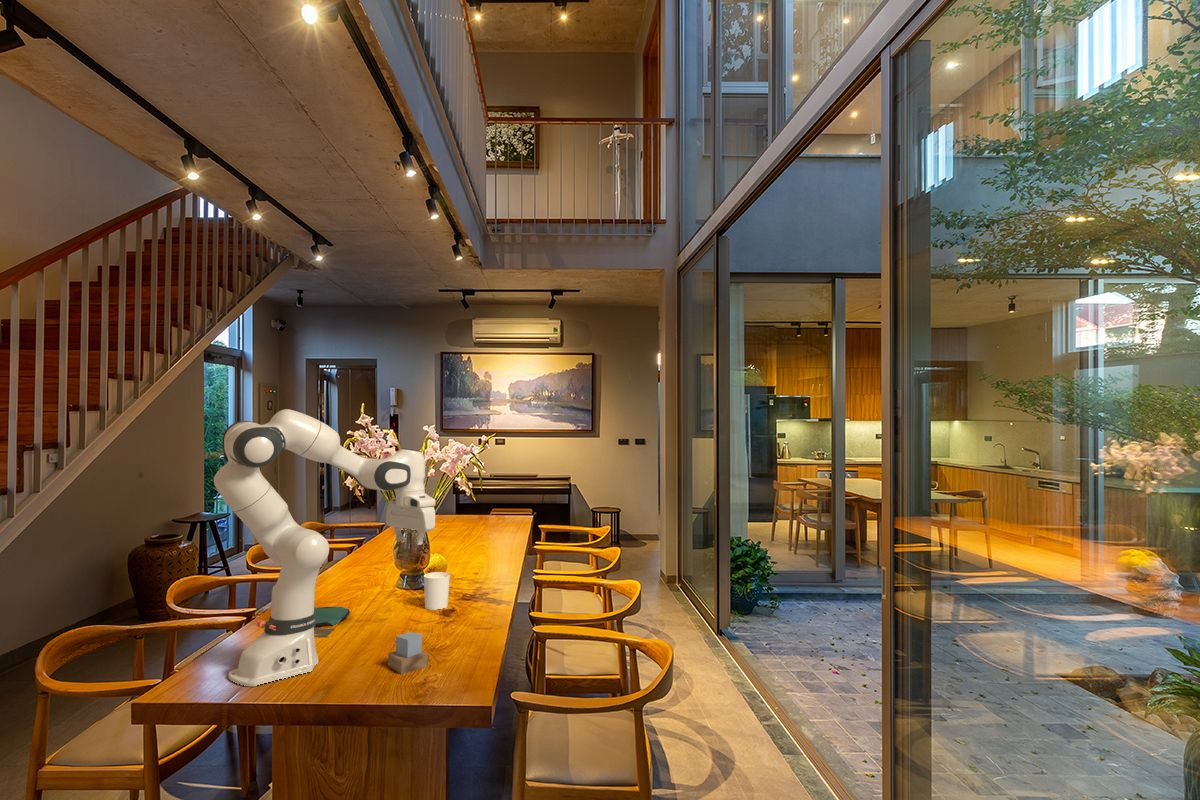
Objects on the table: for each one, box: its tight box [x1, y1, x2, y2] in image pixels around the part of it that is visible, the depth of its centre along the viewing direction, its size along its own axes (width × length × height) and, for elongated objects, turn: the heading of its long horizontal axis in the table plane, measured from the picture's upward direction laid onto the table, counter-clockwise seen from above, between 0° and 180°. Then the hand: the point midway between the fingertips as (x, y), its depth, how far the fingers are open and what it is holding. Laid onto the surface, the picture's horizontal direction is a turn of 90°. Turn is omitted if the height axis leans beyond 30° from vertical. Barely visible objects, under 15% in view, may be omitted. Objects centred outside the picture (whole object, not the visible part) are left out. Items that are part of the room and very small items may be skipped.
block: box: [395, 631, 423, 658], centre depth 178 cm, size 5×5×5 cm
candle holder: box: [423, 571, 451, 611], centre depth 236 cm, size 10×10×12 cm
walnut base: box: [387, 650, 429, 675], centre depth 178 cm, size 8×8×4 cm
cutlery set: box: [314, 606, 351, 638], centre depth 214 cm, size 20×30×2 cm, turn 8°
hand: (409, 542), depth 199 cm, fingers open, 8 cm apart
